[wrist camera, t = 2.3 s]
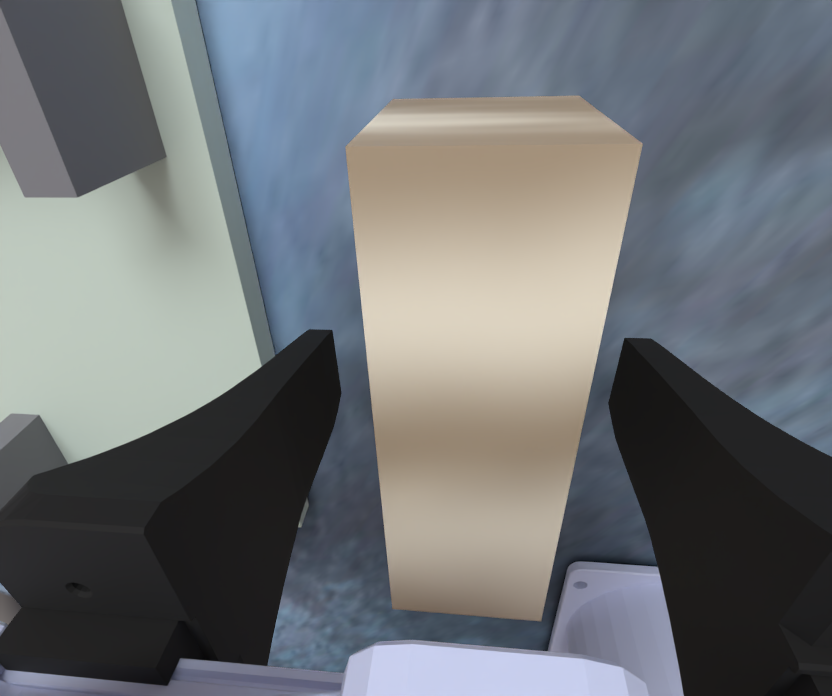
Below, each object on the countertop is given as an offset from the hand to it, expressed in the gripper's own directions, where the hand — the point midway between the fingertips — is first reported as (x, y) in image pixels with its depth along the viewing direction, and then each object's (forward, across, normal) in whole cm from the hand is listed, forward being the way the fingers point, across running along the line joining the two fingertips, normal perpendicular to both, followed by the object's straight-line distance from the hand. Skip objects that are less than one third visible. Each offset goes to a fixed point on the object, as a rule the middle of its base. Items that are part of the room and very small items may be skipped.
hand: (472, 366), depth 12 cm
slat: (+2, 0, 0) cm, 2 cm away
